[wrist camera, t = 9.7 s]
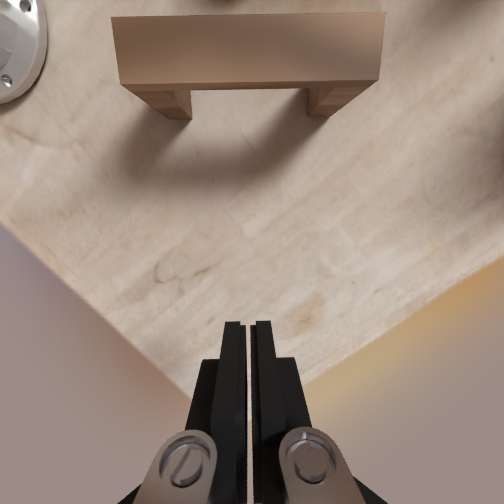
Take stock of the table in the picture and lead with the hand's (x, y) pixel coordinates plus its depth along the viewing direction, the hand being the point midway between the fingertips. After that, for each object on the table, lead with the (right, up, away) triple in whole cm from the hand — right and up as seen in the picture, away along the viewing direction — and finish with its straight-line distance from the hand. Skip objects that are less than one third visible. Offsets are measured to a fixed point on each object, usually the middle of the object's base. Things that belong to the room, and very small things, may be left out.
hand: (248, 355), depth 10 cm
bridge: (0, +17, +12) cm, 21 cm away
